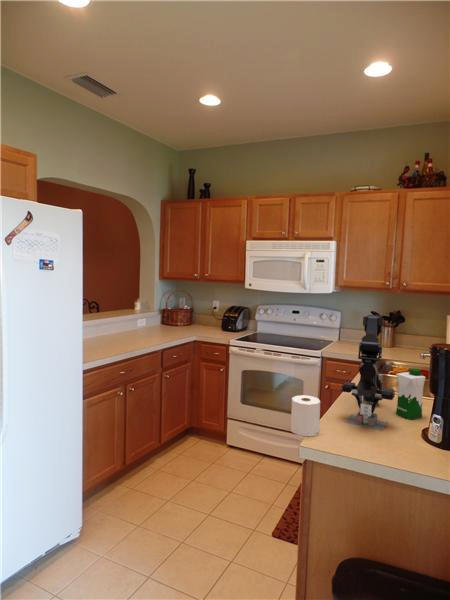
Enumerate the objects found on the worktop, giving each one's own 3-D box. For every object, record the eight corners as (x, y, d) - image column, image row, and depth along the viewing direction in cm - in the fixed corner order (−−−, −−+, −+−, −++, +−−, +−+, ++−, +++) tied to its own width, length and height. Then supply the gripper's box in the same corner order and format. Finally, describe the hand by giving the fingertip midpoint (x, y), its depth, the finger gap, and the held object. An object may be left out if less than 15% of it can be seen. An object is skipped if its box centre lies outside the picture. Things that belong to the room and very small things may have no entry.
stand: (351, 416, 164) (351, 407, 164) (387, 424, 157) (388, 414, 156) (344, 424, 155) (345, 414, 155) (382, 433, 148) (383, 422, 148)
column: (362, 419, 159) (363, 400, 158) (372, 421, 157) (373, 402, 156) (359, 423, 155) (360, 404, 154) (370, 425, 153) (371, 406, 152)
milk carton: (425, 420, 161) (428, 371, 160) (409, 423, 158) (411, 373, 156) (407, 412, 170) (410, 366, 168) (391, 415, 166) (394, 368, 164)
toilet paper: (323, 435, 145) (325, 403, 144) (297, 437, 143) (298, 404, 142) (312, 424, 155) (313, 394, 154) (286, 426, 153) (287, 395, 152)
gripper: (338, 373, 152) (336, 413, 154) (390, 381, 143) (388, 424, 144) (346, 367, 162) (344, 405, 163) (395, 374, 152) (393, 414, 153)
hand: (366, 411), depth 156 cm, fingers closed on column, 4 cm apart
